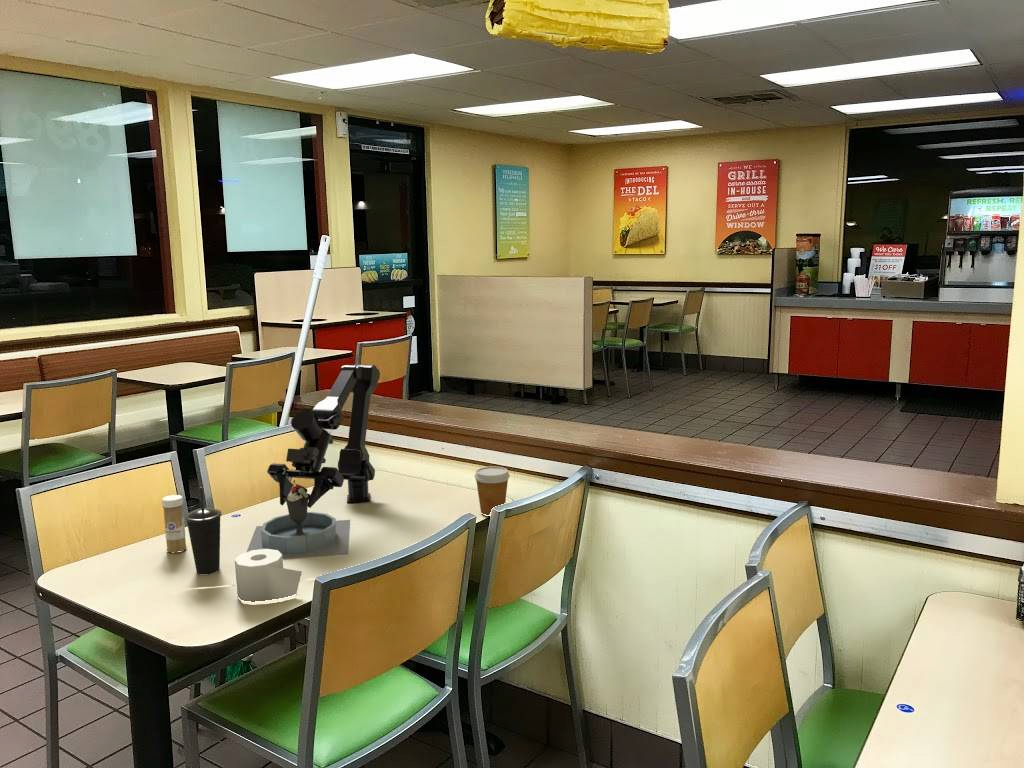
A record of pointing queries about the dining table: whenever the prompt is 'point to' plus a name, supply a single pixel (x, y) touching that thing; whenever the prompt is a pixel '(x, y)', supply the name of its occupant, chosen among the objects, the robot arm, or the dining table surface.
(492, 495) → the disposable coffee cup
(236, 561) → the toilet tissue
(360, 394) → the robot arm
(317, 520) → the bowl
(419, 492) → the dining table surface
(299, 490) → the sundae
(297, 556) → the mat
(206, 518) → the drinking cup
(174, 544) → the sprinkles bottle
